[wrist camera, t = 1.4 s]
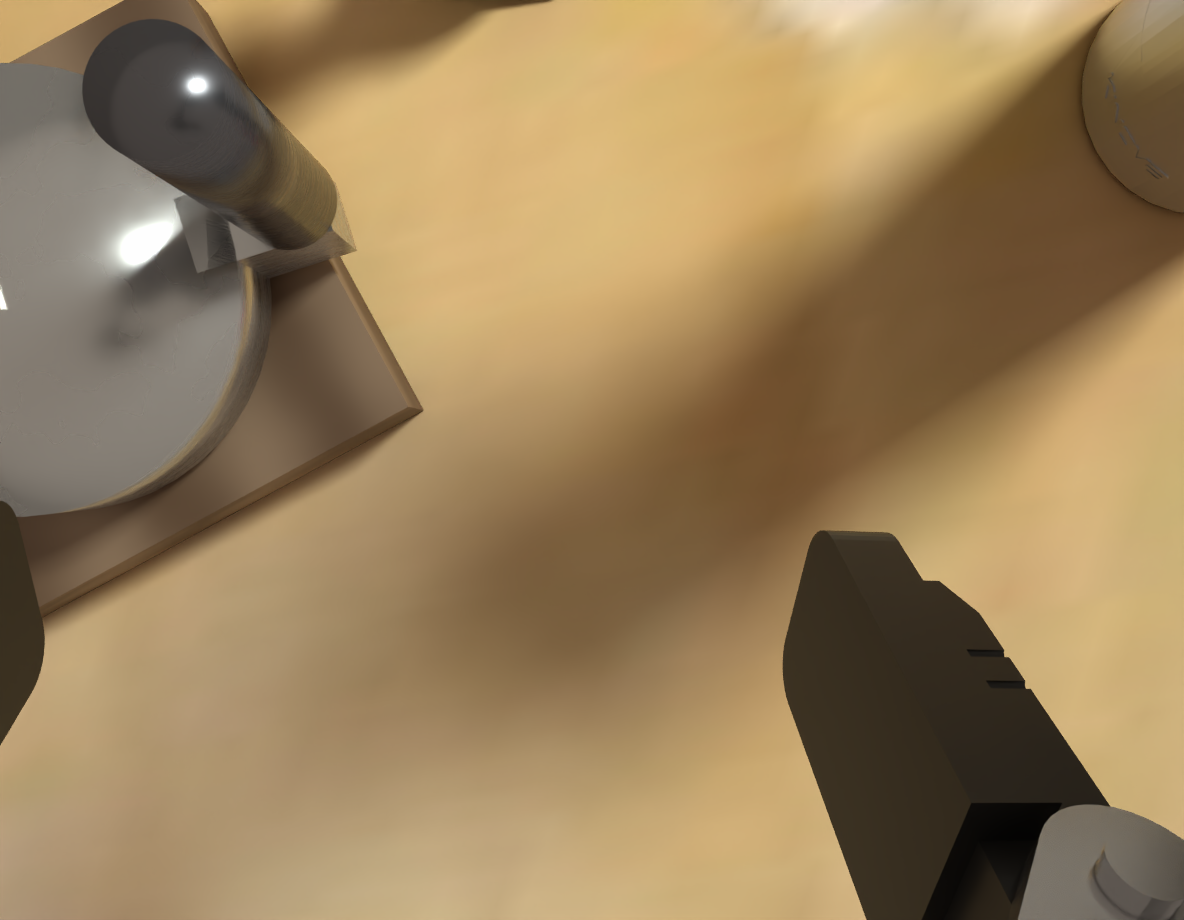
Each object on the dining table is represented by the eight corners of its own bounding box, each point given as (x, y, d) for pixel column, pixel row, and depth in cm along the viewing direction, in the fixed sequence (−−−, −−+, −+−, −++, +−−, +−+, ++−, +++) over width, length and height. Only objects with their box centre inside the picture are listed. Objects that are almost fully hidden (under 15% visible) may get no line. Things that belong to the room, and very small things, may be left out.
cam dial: (-67, 562, 32) (-463, 631, 20) (-193, 170, 32) (-670, 0, 20) (422, 408, 32) (320, 384, 20) (297, 15, 32) (119, -249, 20)
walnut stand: (207, 13, 36) (130, -75, 30) (423, 410, 36) (390, 402, 30) (-188, 228, 36) (-344, 184, 30) (29, 623, 36) (-82, 658, 30)
